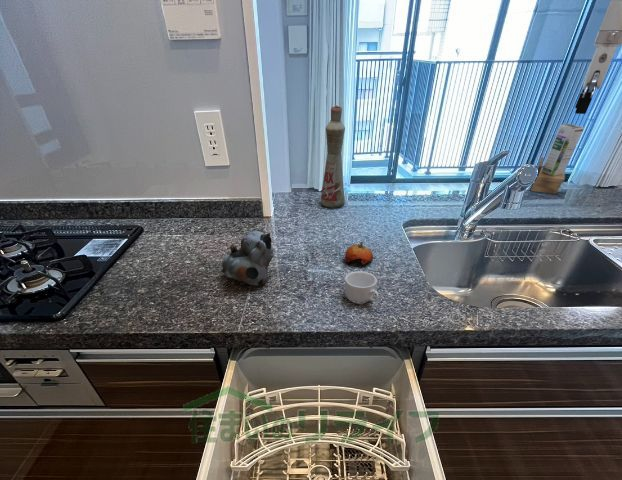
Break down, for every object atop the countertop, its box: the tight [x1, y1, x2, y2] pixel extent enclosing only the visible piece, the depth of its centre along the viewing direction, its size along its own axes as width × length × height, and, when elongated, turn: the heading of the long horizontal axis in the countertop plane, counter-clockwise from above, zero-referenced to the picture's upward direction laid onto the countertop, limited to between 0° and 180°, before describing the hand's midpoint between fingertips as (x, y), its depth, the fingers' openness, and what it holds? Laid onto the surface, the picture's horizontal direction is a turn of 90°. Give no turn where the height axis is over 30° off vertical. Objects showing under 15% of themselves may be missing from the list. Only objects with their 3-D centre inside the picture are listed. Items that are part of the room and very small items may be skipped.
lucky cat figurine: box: [220, 230, 275, 287], centre depth 95 cm, size 15×12×14 cm
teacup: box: [344, 270, 380, 305], centre depth 89 cm, size 10×8×5 cm
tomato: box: [344, 241, 374, 266], centre depth 103 cm, size 8×7×7 cm
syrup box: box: [542, 123, 585, 176], centre depth 133 cm, size 6×6×14 cm
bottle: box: [320, 104, 346, 209], centre depth 122 cm, size 9×9×28 cm
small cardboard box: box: [530, 157, 566, 195], centre depth 140 cm, size 10×12×8 cm
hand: (579, 110), depth 124 cm, fingers open, 9 cm apart
